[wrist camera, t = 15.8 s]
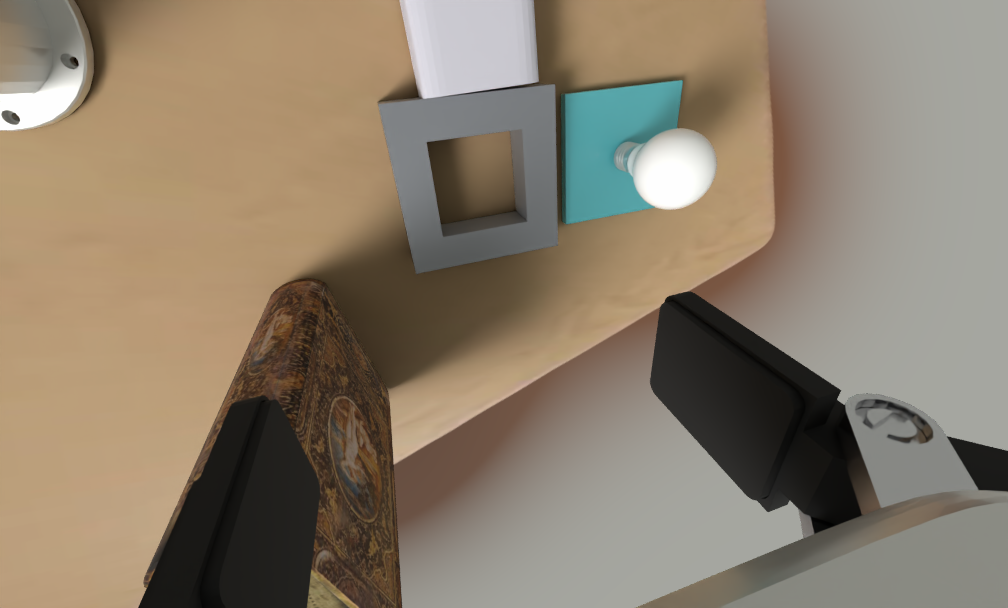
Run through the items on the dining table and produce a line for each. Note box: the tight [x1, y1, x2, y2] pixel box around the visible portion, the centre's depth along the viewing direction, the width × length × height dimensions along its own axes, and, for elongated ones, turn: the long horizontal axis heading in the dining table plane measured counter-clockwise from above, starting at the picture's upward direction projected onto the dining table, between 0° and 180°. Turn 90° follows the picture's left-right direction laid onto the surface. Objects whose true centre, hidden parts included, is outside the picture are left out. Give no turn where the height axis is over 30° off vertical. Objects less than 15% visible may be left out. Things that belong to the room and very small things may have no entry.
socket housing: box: [378, 84, 558, 274], centre depth 36 cm, size 14×14×4 cm
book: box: [144, 279, 402, 608], centre depth 31 cm, size 16×6×25 cm, turn 15°
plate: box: [561, 80, 683, 224], centre depth 40 cm, size 12×12×1 cm
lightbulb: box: [614, 128, 717, 210], centre depth 35 cm, size 6×6×11 cm
